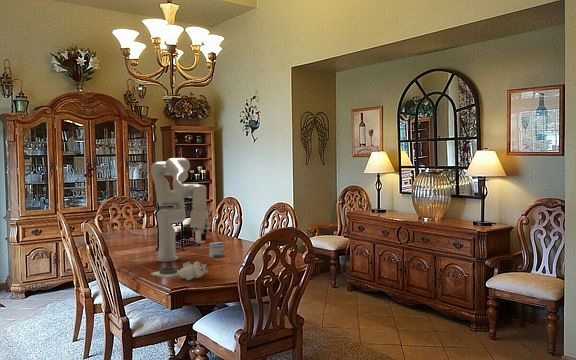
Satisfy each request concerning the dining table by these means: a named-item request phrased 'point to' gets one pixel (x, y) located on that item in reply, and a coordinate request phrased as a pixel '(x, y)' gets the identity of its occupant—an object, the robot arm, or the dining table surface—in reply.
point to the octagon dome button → (166, 272)
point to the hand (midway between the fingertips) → (199, 239)
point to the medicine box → (215, 249)
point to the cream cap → (198, 236)
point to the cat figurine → (192, 270)
